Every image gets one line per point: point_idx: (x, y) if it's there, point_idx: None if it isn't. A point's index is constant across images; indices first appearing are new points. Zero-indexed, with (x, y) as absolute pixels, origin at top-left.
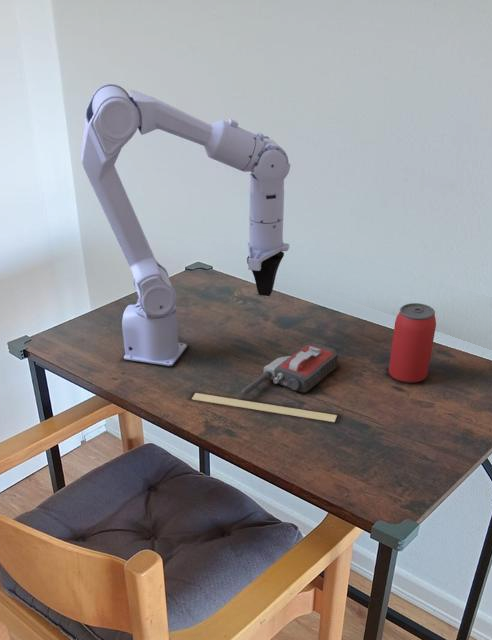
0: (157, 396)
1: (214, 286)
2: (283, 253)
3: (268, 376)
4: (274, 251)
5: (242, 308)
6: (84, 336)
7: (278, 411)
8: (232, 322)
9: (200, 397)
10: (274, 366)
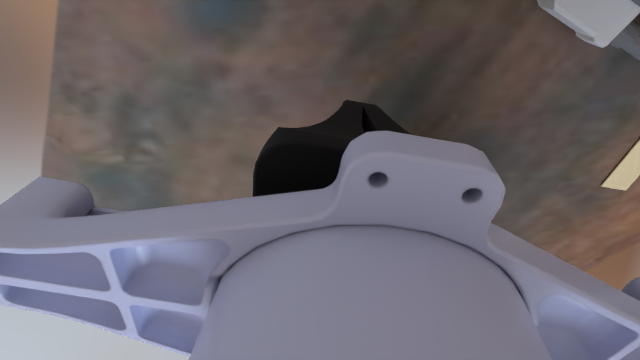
0: (586, 241)
1: (100, 203)
2: (307, 144)
3: (637, 25)
4: (561, 277)
5: (180, 137)
6: None
7: None
8: (260, 150)
9: (627, 175)
10: (614, 12)
